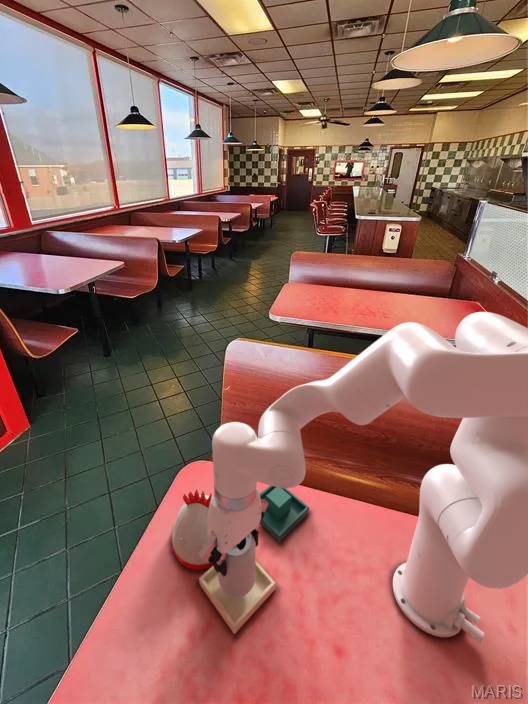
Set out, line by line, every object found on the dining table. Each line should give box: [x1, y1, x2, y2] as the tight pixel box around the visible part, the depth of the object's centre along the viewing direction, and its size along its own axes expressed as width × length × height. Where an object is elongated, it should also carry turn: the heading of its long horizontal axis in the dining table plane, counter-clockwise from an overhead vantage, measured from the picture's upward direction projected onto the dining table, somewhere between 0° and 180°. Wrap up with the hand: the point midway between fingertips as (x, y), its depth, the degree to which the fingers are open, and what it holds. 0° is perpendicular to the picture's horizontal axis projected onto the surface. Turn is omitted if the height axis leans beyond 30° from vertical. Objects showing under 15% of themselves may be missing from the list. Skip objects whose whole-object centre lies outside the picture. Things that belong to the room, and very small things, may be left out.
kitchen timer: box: [171, 488, 213, 571], centre depth 75 cm, size 14×14×15 cm
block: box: [266, 487, 291, 520], centre depth 83 cm, size 4×4×4 cm
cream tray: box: [198, 559, 277, 635], centre depth 68 cm, size 11×11×2 cm
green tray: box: [259, 485, 310, 543], centre depth 84 cm, size 11×11×2 cm
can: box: [217, 533, 257, 597], centre depth 65 cm, size 8×8×12 cm
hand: (236, 554), depth 65 cm, fingers closed on can, 7 cm apart
